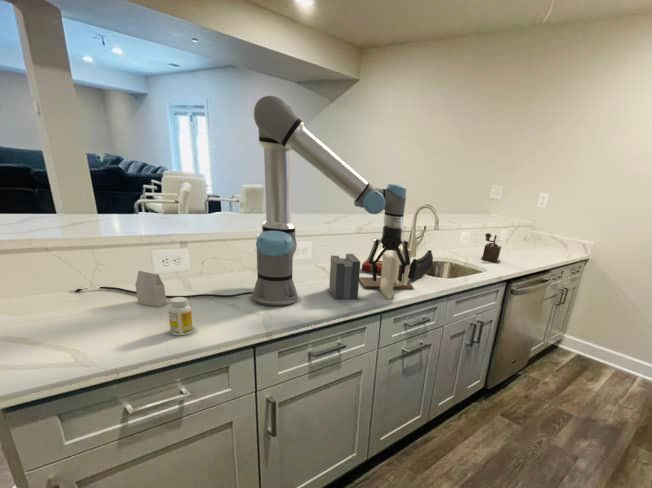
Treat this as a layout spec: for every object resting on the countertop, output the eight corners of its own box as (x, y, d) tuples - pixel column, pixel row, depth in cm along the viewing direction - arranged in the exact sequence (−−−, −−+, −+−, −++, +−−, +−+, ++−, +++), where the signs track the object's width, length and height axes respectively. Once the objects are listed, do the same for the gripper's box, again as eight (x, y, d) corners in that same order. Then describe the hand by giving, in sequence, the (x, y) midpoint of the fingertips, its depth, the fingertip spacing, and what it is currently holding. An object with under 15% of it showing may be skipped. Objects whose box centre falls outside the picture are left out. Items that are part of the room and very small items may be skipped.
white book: (387, 298, 156) (391, 260, 149) (379, 289, 165) (383, 253, 159) (391, 298, 156) (396, 260, 150) (383, 289, 166) (387, 253, 159)
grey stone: (157, 306, 119) (152, 275, 115) (138, 302, 120) (133, 271, 116) (166, 303, 123) (162, 273, 119) (147, 299, 123) (143, 269, 120)
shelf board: (365, 288, 163) (365, 286, 163) (358, 279, 174) (358, 277, 174) (412, 289, 172) (413, 286, 171) (403, 280, 183) (403, 278, 182)
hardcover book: (403, 278, 186) (404, 269, 184) (361, 271, 187) (362, 263, 185) (406, 272, 197) (407, 264, 196) (366, 266, 198) (367, 258, 196)
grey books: (334, 299, 147) (337, 260, 141) (329, 288, 157) (331, 252, 151) (357, 298, 150) (360, 261, 144) (350, 289, 160) (353, 253, 154)
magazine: (414, 264, 176) (434, 238, 198) (407, 263, 177) (428, 237, 199) (413, 295, 187) (432, 267, 209) (407, 294, 188) (426, 266, 210)
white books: (397, 285, 170) (402, 250, 163) (390, 278, 179) (394, 244, 173) (406, 285, 171) (411, 250, 165) (398, 278, 180) (402, 244, 174)
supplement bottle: (169, 336, 103) (165, 303, 99) (172, 328, 108) (168, 296, 104) (192, 335, 105) (189, 302, 102) (194, 327, 110) (191, 295, 106)
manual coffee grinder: (482, 256, 262) (488, 230, 254) (498, 260, 259) (504, 233, 252) (479, 260, 248) (485, 233, 241) (496, 264, 245) (502, 236, 238)
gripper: (367, 226, 142) (362, 283, 151) (423, 230, 151) (415, 283, 160) (362, 222, 148) (357, 277, 157) (416, 226, 157) (409, 278, 166)
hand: (387, 280), depth 158 cm, fingers open, 10 cm apart
